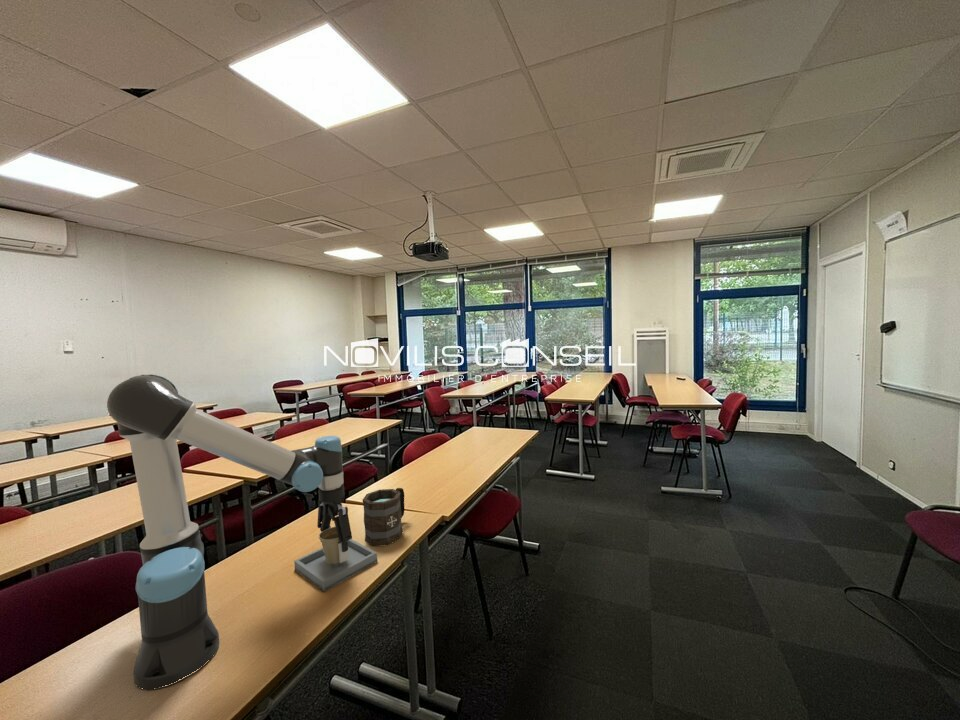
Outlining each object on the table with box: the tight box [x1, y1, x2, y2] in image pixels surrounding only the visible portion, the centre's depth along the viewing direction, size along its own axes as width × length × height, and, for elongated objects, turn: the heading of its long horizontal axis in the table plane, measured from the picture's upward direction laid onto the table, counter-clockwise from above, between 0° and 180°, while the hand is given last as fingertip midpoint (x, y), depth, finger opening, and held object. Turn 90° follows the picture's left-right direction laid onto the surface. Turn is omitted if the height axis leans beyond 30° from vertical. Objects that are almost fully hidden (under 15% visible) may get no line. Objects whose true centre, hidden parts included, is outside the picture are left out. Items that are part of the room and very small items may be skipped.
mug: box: [362, 487, 405, 547], centre depth 140 cm, size 20×14×15 cm
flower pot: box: [318, 525, 340, 564], centre depth 120 cm, size 9×9×9 cm
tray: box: [293, 538, 378, 593], centre depth 120 cm, size 18×18×3 cm
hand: (335, 555), depth 120 cm, fingers open, 9 cm apart
